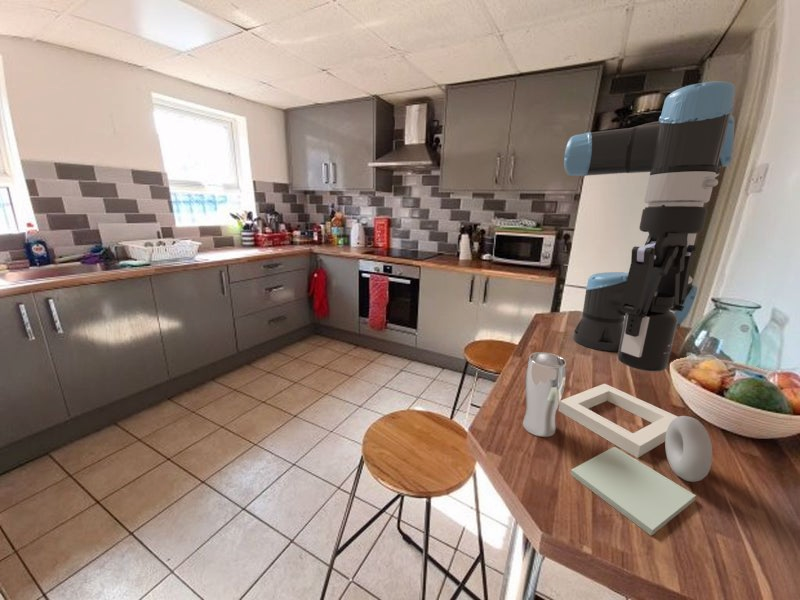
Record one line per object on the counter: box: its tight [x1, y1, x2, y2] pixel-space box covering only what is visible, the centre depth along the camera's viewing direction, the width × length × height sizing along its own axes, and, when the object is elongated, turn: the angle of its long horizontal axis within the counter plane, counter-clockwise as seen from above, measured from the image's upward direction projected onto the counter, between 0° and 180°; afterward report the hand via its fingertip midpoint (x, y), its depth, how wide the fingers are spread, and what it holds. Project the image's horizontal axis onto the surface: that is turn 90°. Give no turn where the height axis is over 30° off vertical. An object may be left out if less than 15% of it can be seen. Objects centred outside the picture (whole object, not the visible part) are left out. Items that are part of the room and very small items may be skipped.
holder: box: [557, 383, 679, 459], centre depth 68 cm, size 16×16×2 cm
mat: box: [570, 446, 697, 537], centre depth 52 cm, size 12×12×1 cm
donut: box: [664, 415, 713, 482], centre depth 54 cm, size 10×4×10 cm, turn 159°
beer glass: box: [522, 351, 567, 438], centre depth 65 cm, size 7×7×15 cm
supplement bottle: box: [617, 292, 678, 373], centre depth 54 cm, size 7×7×12 cm
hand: (643, 349), depth 55 cm, fingers closed on supplement bottle, 7 cm apart
